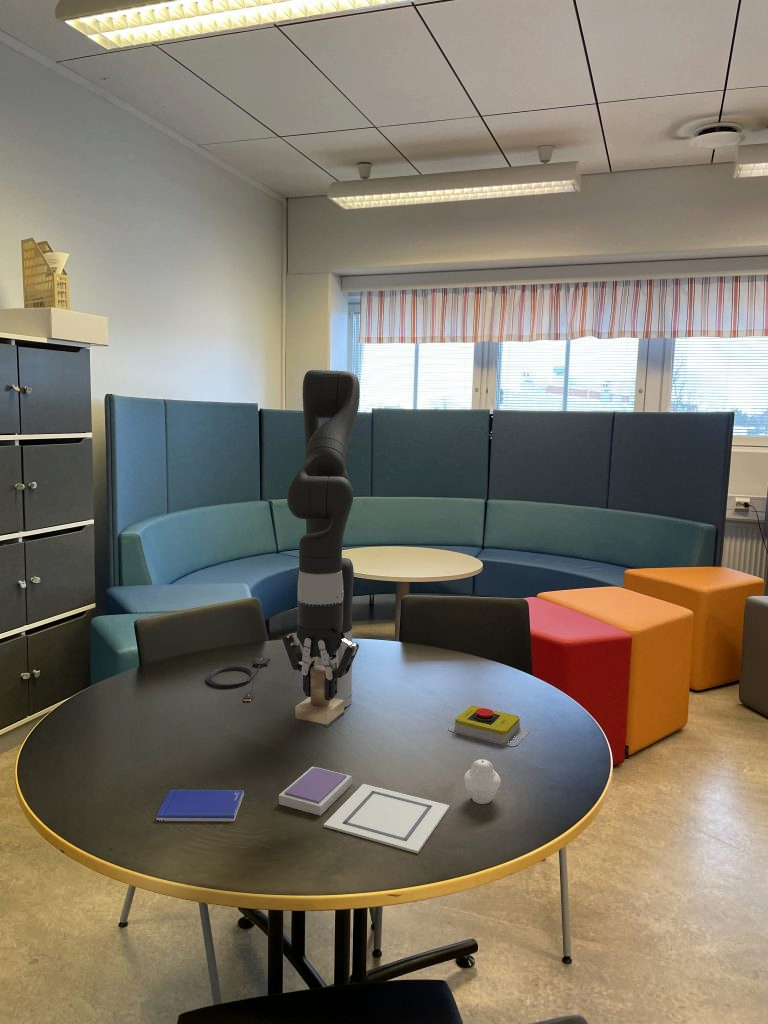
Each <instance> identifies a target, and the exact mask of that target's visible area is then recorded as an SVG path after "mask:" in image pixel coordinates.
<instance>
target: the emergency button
mask: <svg viewBox="0 0 768 1024" xmlns="http://www.w3.org/2000/svg"><path fill="white" fill-rule="evenodd" d="M454 720H455V721H454V723H453V724H452V725H450V726H449V727H448V728H447V729H448V732H451V733H454V732H455V734H458V733H459V734H458V735H462V734H463V735H462V736H466V735H467V737H470V736H471V737H470V738H474V737H475V739H478V738H479V740H482V739H483V741H486V740H487V741H486V742H490V741H491V743H494V742H496V743H495V744H498V743H500V744H499V745H502V744H504V745H503V746H506V745H510V746H511V744H510V741H512V740H513V741H514V740H516V739H513V738H515V737H516V736H518V735H519V734H520V735H519V736H518V737H517V740H518V739H520V738H521V739H522V738H524V737H525V736H526V737H527V736H528V734H529V733H530V730H529V729H528V728H523V727H521V724H520V723H521V722H520V720H521V719H520V716H519V715H517V714H511V713H506V712H503V711H498V710H495V709H491V708H488V707H487V708H486V707H481V706H477V705H470V706H468V707H467V708H466V709H465V710H463V712H461V713H460V714H459V715H458V716H456V717H455V719H454ZM527 729H528V730H529V731H528V730H527ZM526 730H527V731H528V732H527V731H526ZM525 731H526V732H525ZM524 732H525V733H524ZM514 736H515V737H514ZM521 739H520V740H521ZM524 739H525V738H524ZM508 741H509V742H508ZM522 741H523V740H521V741H520V742H519V741H518V742H519V744H520V743H522ZM508 743H509V744H508ZM511 743H512V742H511ZM516 743H517V742H516ZM512 744H513V743H512ZM514 745H515V744H514ZM517 745H518V744H517ZM510 746H509V747H510ZM518 746H519V745H518Z"/></svg>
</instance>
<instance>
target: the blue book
mask: <svg viewBox="0 0 768 1024" xmlns="http://www.w3.org/2000/svg"><path fill="white" fill-rule="evenodd" d="M244 796H245V790H244V789H242V790H241V789H221V790H220V789H170V790H169V791H168V793H167V795H166V797H165V799H164V801H163V803H162V804H161V806H160V808H159V810H158V811H157V814H156V820H159V822H235V820H236V817H237V814H238V812H239V809H240V806H241V804H242V800H243V799H244ZM160 820H161V821H160ZM163 820H164V821H163Z"/></svg>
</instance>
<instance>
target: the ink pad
mask: <svg viewBox="0 0 768 1024" xmlns="http://www.w3.org/2000/svg"><path fill="white" fill-rule="evenodd" d="M352 784H353V776H352V775H349V774H345V773H341V772H337V771H333V770H328V769H325V768H321V767H317V766H311V767H310V768H308V770H307V771H305V772H304V773H303V774H302V775H300V777H298V778H297V779H296V780H294V781H293V782H292V783H291V784H290V785H288V787H287V788H285V789H284V790H283V791H281V793H279V794H278V804H279V805H280V806H284V807H287V808H288V807H289V808H290V809H291V808H292V809H295V810H300V811H302V812H305V813H311V814H314V815H317V816H322V815H323V814H324V813H325V812H326V811H327V810H328V809H329V808H330V807H331V806H332V805H333V804H334V803H335V802H336V801H337V800H338V799H339V798H341V796H342V795H343V794H344V793H345V792H347V790H348V789H349V788H350V787H351V786H352Z"/></svg>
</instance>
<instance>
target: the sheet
mask: <svg viewBox="0 0 768 1024" xmlns="http://www.w3.org/2000/svg"><path fill="white" fill-rule="evenodd" d="M450 807H451V806H450V805H449V804H446V803H442V802H438V801H434V800H430V799H426V798H422V797H418V796H413V795H409V794H405V793H403V792H398V791H393V790H389V789H386V788H383V787H382V788H381V787H377V786H373V785H370V784H367V783H362V784H361V785H360V786H359V788H358V789H357V790H356V791H354V792H353V794H352V795H351V796H349V798H348V799H347V800H346V801H345V802H344V803H343V804H342V805H341V806H340V807H339V808H338V809H337V810H336V811H335V812H334V813H333V814H332V815H331V816H330V818H328V819H327V820H326V822H324V823H323V828H327V829H330V830H335V831H337V832H342V833H345V834H347V835H352V836H355V837H358V838H362V839H366V840H368V841H369V840H370V841H372V842H376V843H380V844H383V845H386V846H390V847H392V848H397V849H400V850H403V851H407V852H410V853H411V852H412V853H415V854H419V853H420V851H421V850H422V848H423V847H424V846H425V844H426V843H427V841H428V840H429V838H430V837H431V835H433V832H434V831H435V829H436V828H437V827H438V825H439V824H440V822H441V821H442V819H444V818H443V817H444V816H445V815H446V813H447V812H448V811H449V809H450Z"/></svg>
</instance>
